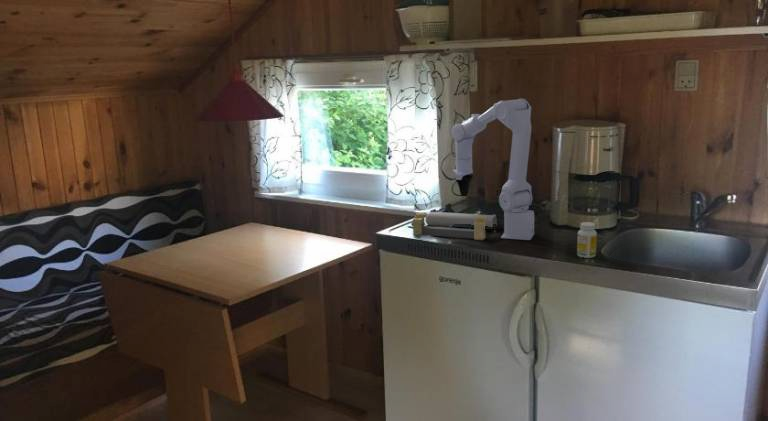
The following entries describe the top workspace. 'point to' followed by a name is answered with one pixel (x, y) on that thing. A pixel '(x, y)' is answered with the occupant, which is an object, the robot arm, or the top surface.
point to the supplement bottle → (587, 240)
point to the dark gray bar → (448, 232)
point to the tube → (456, 219)
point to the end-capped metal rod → (478, 226)
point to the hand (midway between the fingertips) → (464, 195)
